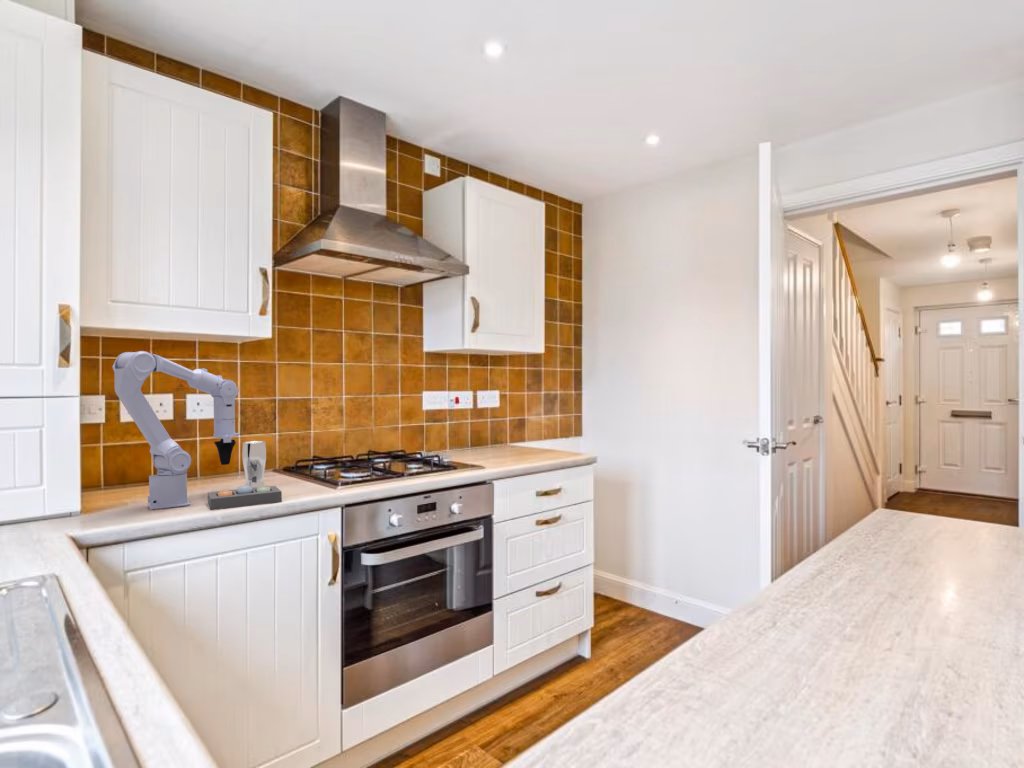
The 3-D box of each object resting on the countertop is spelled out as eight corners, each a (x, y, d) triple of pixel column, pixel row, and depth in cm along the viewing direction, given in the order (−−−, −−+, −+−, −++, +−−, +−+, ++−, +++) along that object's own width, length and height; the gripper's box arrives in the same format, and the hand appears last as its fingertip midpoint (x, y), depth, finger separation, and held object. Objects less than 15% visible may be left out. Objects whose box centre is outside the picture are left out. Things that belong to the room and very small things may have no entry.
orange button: (218, 504, 161) (218, 493, 161) (217, 502, 164) (217, 491, 164) (233, 503, 163) (233, 492, 163) (231, 500, 166) (231, 490, 166)
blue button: (238, 499, 163) (238, 488, 163) (237, 496, 166) (236, 486, 166) (252, 497, 165) (252, 487, 165) (250, 495, 168) (250, 485, 168)
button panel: (210, 510, 157) (210, 499, 157) (207, 503, 165) (207, 492, 165) (281, 501, 166) (281, 491, 166) (275, 495, 175) (275, 485, 175)
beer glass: (238, 490, 184) (237, 442, 184) (256, 486, 190) (256, 440, 190) (252, 491, 181) (252, 443, 181) (271, 487, 187) (270, 441, 187)
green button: (257, 500, 166) (257, 489, 166) (255, 498, 169) (255, 487, 169) (271, 498, 168) (271, 488, 168) (269, 496, 171) (269, 486, 171)
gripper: (242, 420, 171) (243, 466, 172) (236, 417, 184) (236, 460, 184) (215, 421, 168) (216, 468, 168) (210, 418, 180) (211, 462, 180)
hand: (225, 464), depth 176 cm, fingers closed
